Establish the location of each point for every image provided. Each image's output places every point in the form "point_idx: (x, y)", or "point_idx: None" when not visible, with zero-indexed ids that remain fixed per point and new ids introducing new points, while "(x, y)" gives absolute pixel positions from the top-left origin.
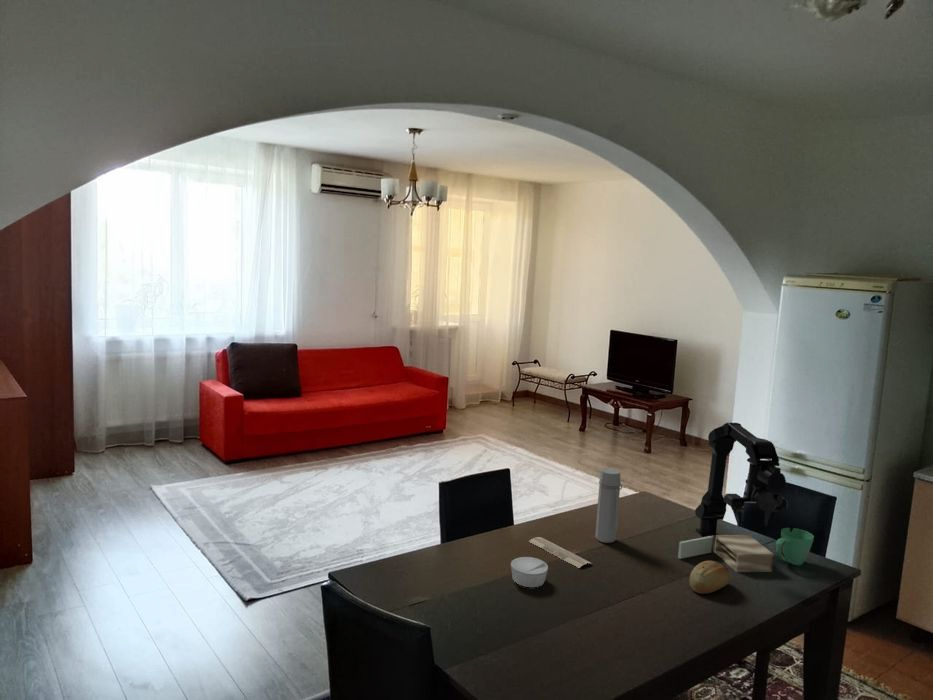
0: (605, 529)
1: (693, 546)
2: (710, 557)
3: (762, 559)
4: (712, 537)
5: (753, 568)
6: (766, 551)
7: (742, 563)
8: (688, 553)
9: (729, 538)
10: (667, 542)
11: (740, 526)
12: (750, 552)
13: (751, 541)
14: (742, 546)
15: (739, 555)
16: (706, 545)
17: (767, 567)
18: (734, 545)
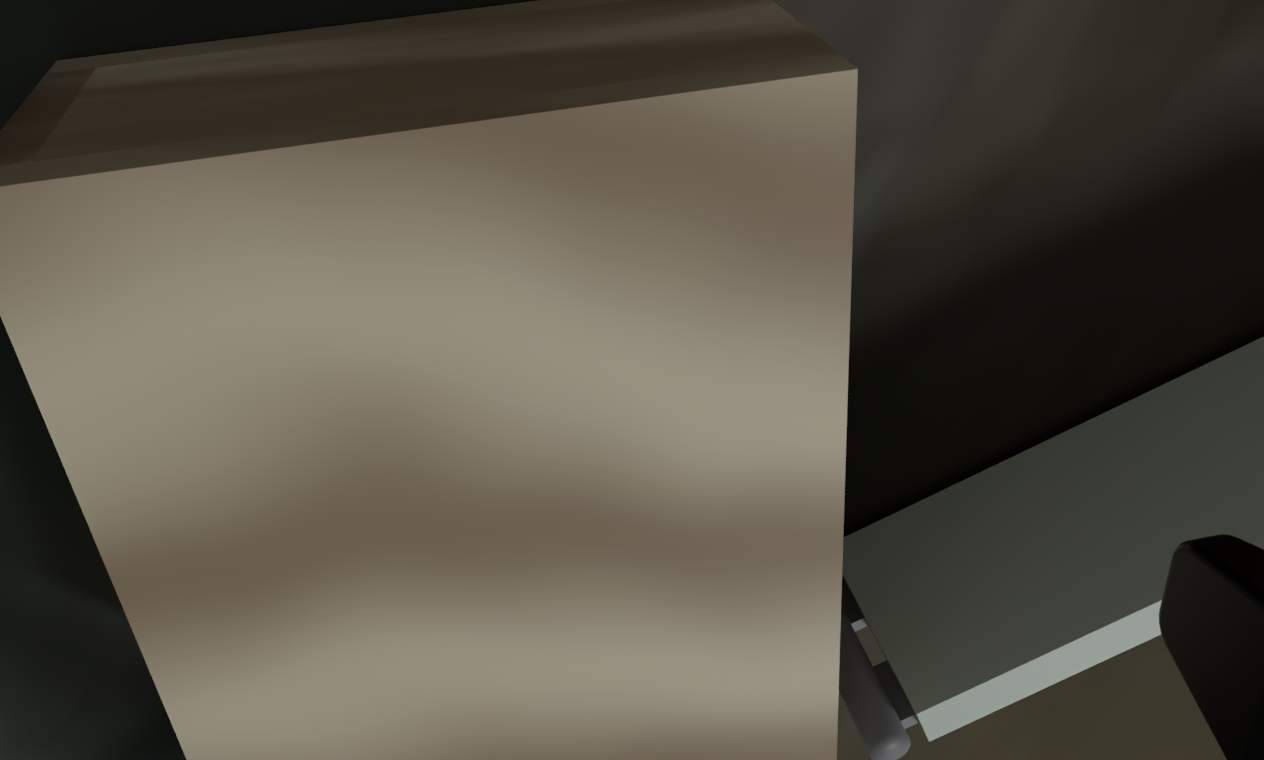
0: None
1: (1235, 477)
2: (893, 422)
3: (254, 109)
4: (914, 708)
5: (434, 31)
6: (105, 315)
7: (687, 26)
8: (1255, 385)
9: (667, 719)
10: (1188, 692)
11: (1186, 545)
12: (524, 208)
13: (292, 700)
14: (574, 464)
15: (821, 63)
16: (971, 578)
17: (140, 73)
18: (718, 477)
